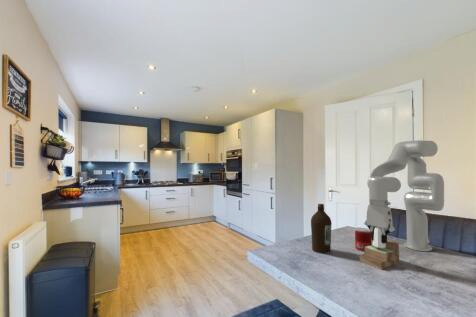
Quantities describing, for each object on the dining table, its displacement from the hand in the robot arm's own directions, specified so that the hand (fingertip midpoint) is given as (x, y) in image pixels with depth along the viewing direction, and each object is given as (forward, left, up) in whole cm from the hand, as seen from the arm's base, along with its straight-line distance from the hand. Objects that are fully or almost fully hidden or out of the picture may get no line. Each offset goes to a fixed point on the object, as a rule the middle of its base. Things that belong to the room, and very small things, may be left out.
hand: (379, 241), depth 109 cm
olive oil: (+12, -24, -10) cm, 29 cm away
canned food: (-10, -14, -10) cm, 20 cm away
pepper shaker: (0, 0, -2) cm, 2 cm away
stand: (0, 0, -10) cm, 10 cm away
